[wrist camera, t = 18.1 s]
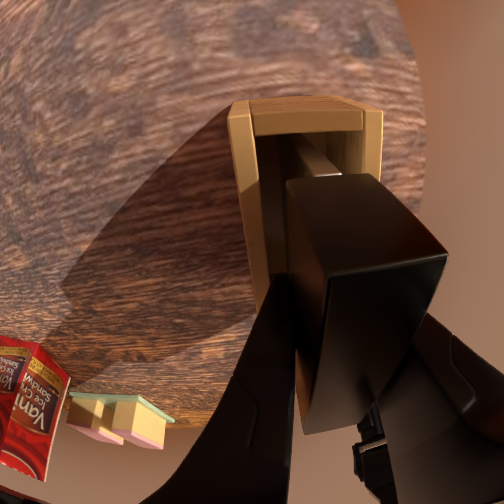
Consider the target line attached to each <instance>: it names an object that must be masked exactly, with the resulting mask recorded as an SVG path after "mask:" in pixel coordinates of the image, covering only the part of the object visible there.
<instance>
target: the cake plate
mask: <svg viewBox="0 0 504 504" xmlns="http://www.w3.org/2000/svg"><path fill="white" fill-rule="evenodd" d="M69 395H70V396H72V397H73V398H81V399H91V400H98V401H99V402H101V403H102V404H104V405H105V406H107V407H109V408H110V409H112V410H113V411H115V408H116V404H117V401H125V402H138V403H139V404H141V405H142V406H144V407H145V408H147V409H148V410H150V411H151V412H153V413H154V414H156V415H158V416H159V417H161V418H162V419H164V420H166V423H174V421H175V420H174V419H173V418H171V417H170V416H168V415H167V414H165V413H164V412H162V411H161V410H159V409H158V408H156V407H155V406H153V405H152V404H150V403H149V402H148V401H146V400H145V399H143V398H142V397H141V396H139V395H113V394H94V393H81V392H71V391H70V392H69Z"/></svg>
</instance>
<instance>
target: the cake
mask: <svg viewBox="0 0 504 504" xmlns="http://www.w3.org/2000/svg"><path fill="white" fill-rule="evenodd" d="M114 413H115V411H113V410H112V409H110V408H109V407H107V406H105V405H104V404H102V403H101V402H99V401H98V400H91V399H81V398H73V399H72V403H71V406H70V410H69V413H68V417H67V421H66V424H68V425H70V426H71V427H73V428H75V429H77V430H79V431H80V432H82V433H84V434H86V435H88V436H90V437H92V438H94V439H96V440H99V441H103V442H109V443H114V444H120V445H123V440H124V439H123V438H121V437H119V436H118V435H116V434H114V433H112V432H111V428H112V423H113V418H114Z"/></svg>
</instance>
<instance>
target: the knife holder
mask: <svg viewBox="0 0 504 504" xmlns="http://www.w3.org/2000/svg"><path fill="white" fill-rule="evenodd" d="M227 126H228V133H229V140H230V146H231V153H232V159H233V166H234V172H235V179H236V185H237V191H238V198H239V204H240V211H241V217H242V223H243V230H244V236H245V243H246V249H247V255H248V261H249V268H250V274H251V280H252V287H253V293H254V299H255V305H256V311H257V315H258V313H259V310H260V308H261V305H262V303H263V301H264V298H265V296H266V293H267V291H268V288H269V286H270V283H271V281H272V278H273V277H274V276H275V275H282V274H287V275H288V276H289V274H288V270H287V266H286V254H285V236H284V220H283V204H282V190H281V177H280V164H279V152H278V141H277V135H278V134H290V133H301V134H302V135H303V136H305V137H306V138H307V139H308V140H309V141H310V142H311V143H312V144H313V145H314V146H315V147H316V148H317V149H318V150H319V151H320V152H321V153H322V154H323V155H324V156H325V157H326V158H327V159H328V160H329V161H330V162H331V163H332V164H333V165H334V166H335V167H336V168H337V169H338V170H339V171H340V172H341V173H342V175H344V174H361V173H369V174H371V175H373V176H374V177H375V178H376V179H377V180H378V181H379V182H380V171H381V157H382V136H383V111H381V110H379V109H376V108H374V107H371V106H368V105H365V104H362V103H359V102H356V101H353V100H349V99H346V98H343V97H339V96H337V95H315V96H289V97H274V98H263V99H253V100H244V101H236V102H233V103H232V106H231V109H230V111H229V114H228V116H227ZM289 279H290V278H289Z"/></svg>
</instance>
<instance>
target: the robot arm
mask: <svg viewBox="0 0 504 504" xmlns="http://www.w3.org/2000/svg"><path fill="white" fill-rule="evenodd" d="M295 365H296V306H295V301H294V298H293V294H292V290H291V287H290V279H289V276H288V275H287V274H282V275H275V276H274V277H273V278H272V281H271V283H270V286H269V288H268V291H267V293H266V296H265V298H264V301H263V303H262V305H261V308H260V310H259V313H258V315H257V318H256V320H255V322H254V325H253V327H252V330H251V332H250V334H249V337H248V339H247V342H246V344H245V346H244V349H243V351H242V353H241V356H240V358H239V360H238V363H237V365H236V367H235V370H234V372H233V376H232V377H231V379H230V381H229V383H228V385H227V388H226V390H225V392H224V394H223V396H222V398H221V400H220V402H219V404H218V406H217V408H216V410H215V412H214V413H213V415H212V417H211V418H210V420H209V422H208V423H207V425H206V427H205V428H204V430H203V431H202V433H201V435H200V436H199V437H198V439H197V441H196V442H195V444H194V445H193V447H192V448H191V450H190V451H189V453H188V454H187V455H186V457H185V459H184V460H183V461H182V463H181V464H180V466H179V467H178V468H177V470H176V471H175V472H174V474H173V475H172V476H171V477H170V478H169V479H168V480H167V482H166V483H165V484H164V485H163V486H161V487H160V488H159V489H158V490H157V491H155V492H154V493H153V494H151V495H150V496H149V497H147V498H146V499H144V500H143V501H142V502H140V503H139V504H287V501H288V491H289V480H290V466H291V454H292V438H293V420H294V398H295ZM357 428H358V432H359V433H361V438H362V442H360V443H355V445H354V446H352V450H353V456H354V474H355V475H357V476H358V477H359V478H360V481H361V482H365V487H366V488H367V490H368V491H369V493H370V494H371V495H372V496H373V497H374V498H375V499H376V500H377V501H378V502H379V503H380V504H504V374H503V373H501V372H500V371H499V370H497V369H496V368H495V367H493V366H492V365H490V364H489V363H488V362H487V361H485V360H484V359H483V358H481V357H480V356H479V355H478V354H476V353H475V352H474V351H473V350H472V349H470V348H469V347H468V346H467V345H465V344H464V343H463V342H462V341H460V339H459V338H457V337H456V336H455V335H452V333H451V332H450V331H449V330H448V329H447V328H446V327H444V326H443V325H442V324H441V323H439V322H438V321H437V320H436V319H435V318H434V317H432V316H431V315H430V314H429V313H426V315H425V317H424V319H423V321H422V323H421V325H420V327H419V329H418V331H417V333H416V335H415V337H414V339H413V340H412V342H411V344H410V346H409V348H408V350H407V351H406V353H405V355H404V357H403V358H402V360H401V362H400V364H399V365H398V367H397V369H396V370H395V372H394V374H393V375H392V377H391V378H390V380H389V382H388V383H387V385H386V386H385V388H384V389H383V391H382V392H381V394H380V395H379V397H378V398H377V400H376V401H375V402H374V404H373V405H372V407H371V408H370V410H369V411H368V412H367V414H366V415H365V416H364V418H363V419H362V420H361V422H360V423H358V424H357ZM385 442H387V443H386V444H384V445H380V446H377V445H379V444H382V443H385ZM373 446H377V447H374V448H371V449H368V450H365V452H364V451H363V450H364V449H367V448H370V447H373ZM0 504H50V503H47V502H45V501H42V500H39V499H36V498H33V497H30V496H27V495H24V494H21V493H19V492H16V491H14V490H11V489H8V488H6V487H4V486H1V485H0Z"/></svg>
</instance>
